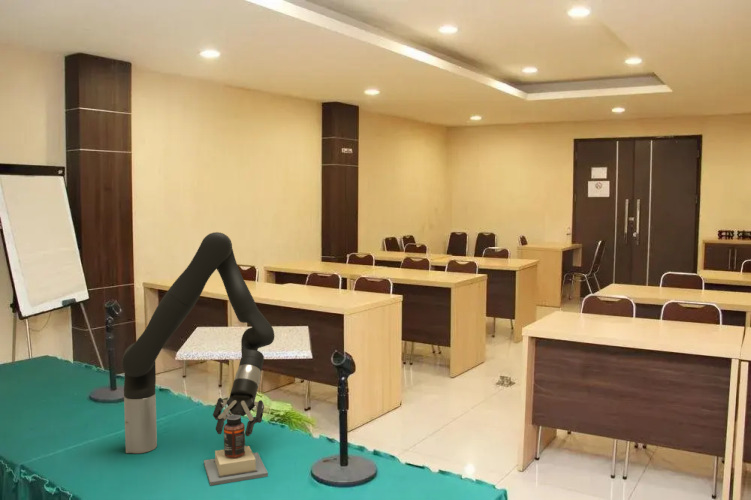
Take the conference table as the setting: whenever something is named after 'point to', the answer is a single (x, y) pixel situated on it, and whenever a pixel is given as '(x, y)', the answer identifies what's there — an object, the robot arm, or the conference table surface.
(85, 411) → the conference table surface
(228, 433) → the supplement bottle
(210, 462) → the board
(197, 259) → the robot arm
